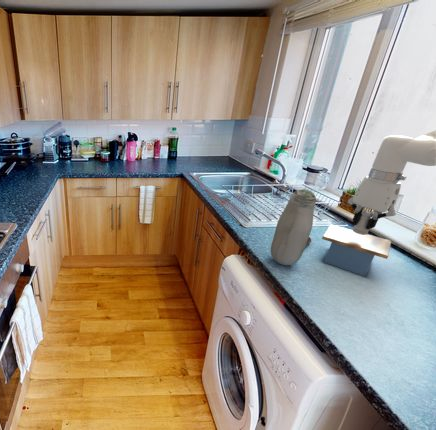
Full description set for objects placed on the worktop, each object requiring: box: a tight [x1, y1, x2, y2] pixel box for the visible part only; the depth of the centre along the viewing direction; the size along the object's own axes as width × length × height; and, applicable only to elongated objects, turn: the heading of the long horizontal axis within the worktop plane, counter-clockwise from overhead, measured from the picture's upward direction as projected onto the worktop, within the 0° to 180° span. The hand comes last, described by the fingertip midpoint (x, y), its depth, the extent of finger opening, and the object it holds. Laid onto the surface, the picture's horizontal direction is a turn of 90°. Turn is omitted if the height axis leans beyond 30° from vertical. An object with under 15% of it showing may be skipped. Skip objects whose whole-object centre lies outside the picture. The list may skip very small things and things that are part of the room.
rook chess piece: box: [351, 209, 374, 235], centre depth 99 cm, size 4×4×8 cm
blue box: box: [323, 242, 376, 277], centre depth 104 cm, size 12×12×9 cm
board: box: [321, 223, 392, 260], centre depth 102 cm, size 18×14×1 cm
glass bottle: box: [270, 188, 317, 266], centre depth 100 cm, size 10×10×28 cm
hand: (362, 225), depth 100 cm, fingers closed on rook chess piece, 3 cm apart
